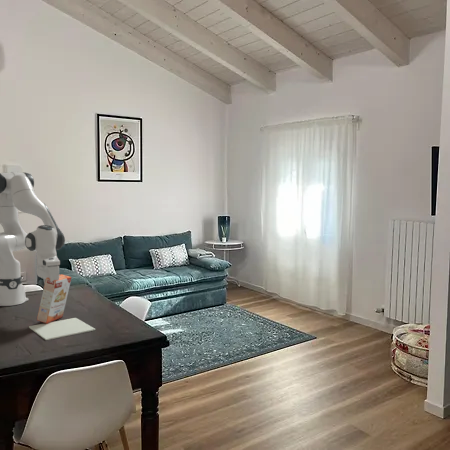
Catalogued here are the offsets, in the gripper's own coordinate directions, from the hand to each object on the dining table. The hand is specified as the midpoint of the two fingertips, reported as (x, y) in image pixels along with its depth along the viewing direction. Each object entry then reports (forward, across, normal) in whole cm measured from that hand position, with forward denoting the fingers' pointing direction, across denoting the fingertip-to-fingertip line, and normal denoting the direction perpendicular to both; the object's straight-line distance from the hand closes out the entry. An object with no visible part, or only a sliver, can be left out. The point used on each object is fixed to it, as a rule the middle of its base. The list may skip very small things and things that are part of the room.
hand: (47, 288), depth 224 cm
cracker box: (+15, +2, 0) cm, 15 cm away
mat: (+16, +17, 0) cm, 23 cm away
